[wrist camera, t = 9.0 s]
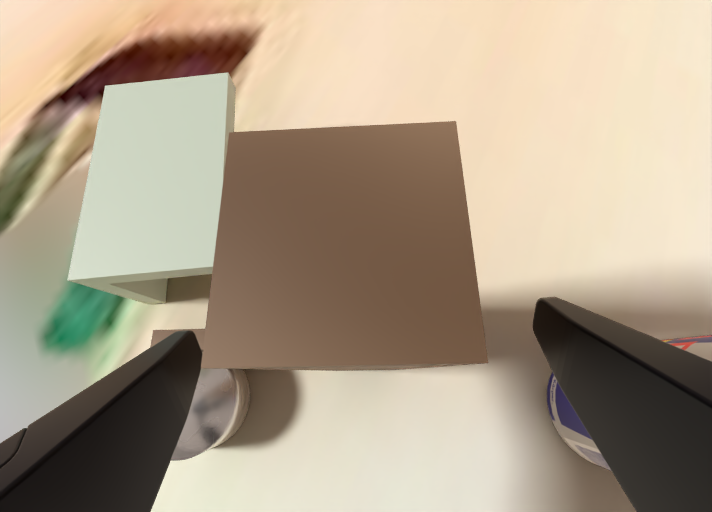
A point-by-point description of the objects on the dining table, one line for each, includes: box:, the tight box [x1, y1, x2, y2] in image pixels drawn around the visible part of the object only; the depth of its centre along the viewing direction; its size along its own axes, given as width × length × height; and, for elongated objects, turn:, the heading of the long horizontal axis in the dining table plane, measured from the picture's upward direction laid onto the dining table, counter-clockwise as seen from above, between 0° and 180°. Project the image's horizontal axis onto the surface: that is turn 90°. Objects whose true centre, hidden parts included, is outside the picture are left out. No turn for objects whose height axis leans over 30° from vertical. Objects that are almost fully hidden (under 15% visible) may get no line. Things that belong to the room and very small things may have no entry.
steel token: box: [171, 353, 250, 460], centre depth 17 cm, size 5×5×2 cm
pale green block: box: [68, 73, 236, 304], centre depth 19 cm, size 10×6×6 cm, turn 6°
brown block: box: [150, 121, 488, 371], centre depth 12 cm, size 3×12×15 cm, turn 92°
